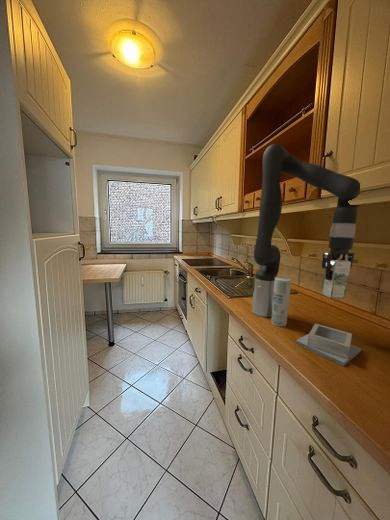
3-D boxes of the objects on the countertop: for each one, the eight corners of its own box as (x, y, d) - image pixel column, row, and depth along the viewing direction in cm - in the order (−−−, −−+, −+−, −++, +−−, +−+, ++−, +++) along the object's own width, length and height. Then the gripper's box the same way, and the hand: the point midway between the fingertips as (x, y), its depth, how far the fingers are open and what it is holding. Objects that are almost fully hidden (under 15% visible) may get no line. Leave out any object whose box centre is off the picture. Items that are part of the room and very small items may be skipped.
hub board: (295, 343, 75) (296, 340, 75) (315, 332, 83) (315, 330, 83) (343, 366, 63) (344, 362, 63) (360, 351, 71) (361, 348, 71)
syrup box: (334, 293, 84) (339, 258, 82) (345, 299, 79) (351, 261, 76) (320, 293, 84) (325, 258, 82) (330, 298, 78) (336, 260, 76)
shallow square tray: (307, 345, 72) (308, 334, 71) (313, 333, 81) (315, 323, 80) (347, 359, 65) (349, 347, 64) (350, 344, 73) (352, 333, 73)
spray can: (289, 324, 90) (294, 279, 87) (280, 327, 87) (285, 281, 84) (276, 318, 96) (280, 276, 92) (267, 321, 92) (271, 277, 89)
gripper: (344, 235, 83) (338, 276, 86) (318, 235, 78) (312, 277, 81) (365, 237, 77) (357, 280, 79) (338, 236, 72) (331, 283, 74)
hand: (335, 279), depth 80 cm, fingers closed on syrup box, 6 cm apart
